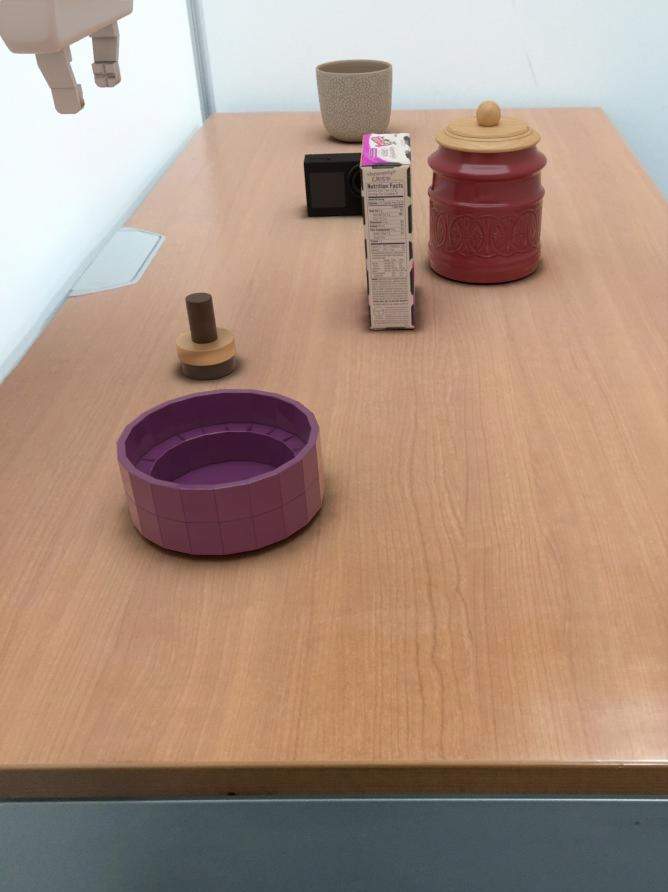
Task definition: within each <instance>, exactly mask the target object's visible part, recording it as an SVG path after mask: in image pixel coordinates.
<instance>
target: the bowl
mask: <svg viewBox="0 0 668 892" xmlns="http://www.w3.org/2000/svg"><path fill="white" fill-rule="evenodd" d="M115 445H116V459H117V463H118V468H119V471H120V472H119V473H120V476H121V481H122V485H123V490H124V495H125V498H126V502H127V507H128V511H129V516H130V520H131V522H132V524H133V525H134V526H135V528H136V530H137V531H138V532H139V533H140V535H141V536H142V537H143V538H144V539H146V540H149V542H152V543H154V544H155V545H157V546H159V547H161V548H163V549H166V550H172V551H174V552H178V553H179V552H180V553H184V554H189V555H193V556H194V555H199V556H201V555H202V556H203V555H204V556H207V555H208V556H210V555H211V556H226V555H232V554H238V553H239V554H240V553H243V552H251V551H256V550H259V549H263V548H264V547H267V546H270V545H273V544H275V543H278V542H280V541H283V540H285V539H288V538H289V537H290V536H292V535H293V534H295V533H296V532H298V531H300V530H301V529H302V528H304V527H306V526H307V525H308V524H309V523H310V522H311V520H313V518H314V517H315V515H316V514H317V513H318V512H319V511H320V509H321V507H322V505H323V500H324V496H325V490H326V489H325V488H326V487H325V476H324V466H323V465H324V464H323V452H322V440H321V429H320V425H319V424H318V421H317V419H316V416H315V414H314V412H312V411H311V410H310V409H309V408H308V407H306V406H305V405H304V404H303V403H301V402H300V401H298V400H296V399H293V398H291V397H288V396H287V395H283V394H280V393H278V392H272V391H266V390H259V389H253V388H220V389H213V390H206V391H199V392H193V393H188V394H186V395H182V396H178V397H175V398H172V399H169V400H166V401H164V402H161V403H160V404H158V405H155V406H153V407H151V408H149V409H147V410H145V411H143V412H141V413H140V414H139V415H138V416H136V417H135V418H134V419H133V420H132V421H130V422H129V423H128V424H127V425H126V426H125V427H124V428H123V430H122V432H121V434H120V436H118V439H117V440H116V444H115Z"/></svg>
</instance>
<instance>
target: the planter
mask: <svg viewBox="0 0 668 892" xmlns="http://www.w3.org/2000/svg"><path fill="white" fill-rule="evenodd" d="M315 81H316V89H317V97H318V103H319V110H320V116H321V120H322V124H323V127H324V129H325V130H326V132H327V133H328V134H329V135H330V136H331V137H333V138H334V139H336V140H338V141H340V142H348V143H362V141H363V135H366V134H372V133H377V134H381V133H383V132H384V133H386V131H387V129H388V127H389V126H390V122H391V115H392V102H393V101H392V100H393V64H392V63H391V62H388V61H384V60H379V59H378V60H377V59H364V58H363V59H362V58H361V59H360V58H359V59H356V58H355V59H340V60H333V61H327V62H324V63H321V64H317V65H316V67H315Z"/></svg>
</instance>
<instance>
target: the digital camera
mask: <svg viewBox="0 0 668 892" xmlns="http://www.w3.org/2000/svg"><path fill="white" fill-rule="evenodd" d="M361 153H362V152H337V153H333V152H332V153H307V154H304V157H303V158H304V159H303V175H304V190H305V201H306V213H307V216H308V217H329V216H363V210H362V191H361V174H360V160H361Z"/></svg>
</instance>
